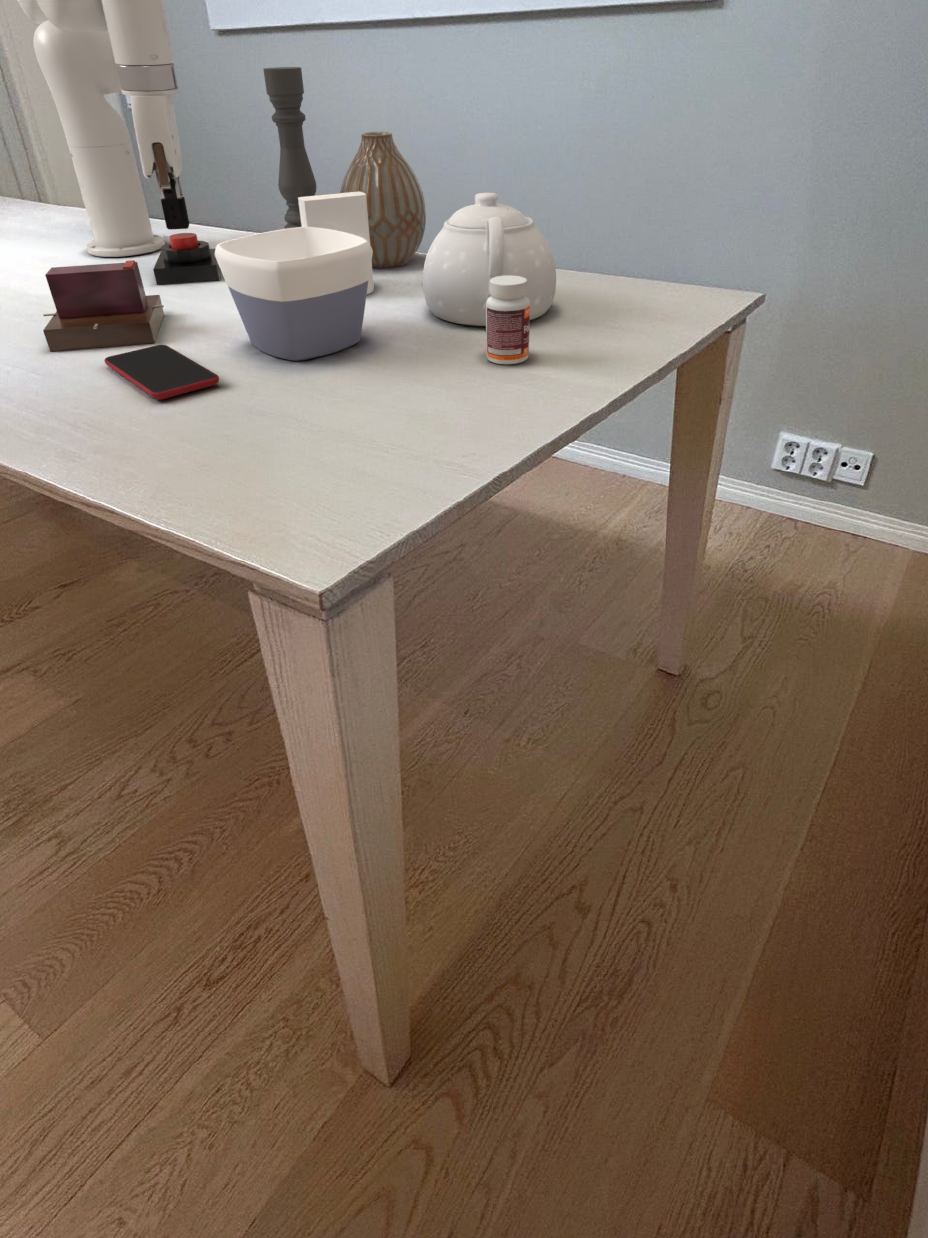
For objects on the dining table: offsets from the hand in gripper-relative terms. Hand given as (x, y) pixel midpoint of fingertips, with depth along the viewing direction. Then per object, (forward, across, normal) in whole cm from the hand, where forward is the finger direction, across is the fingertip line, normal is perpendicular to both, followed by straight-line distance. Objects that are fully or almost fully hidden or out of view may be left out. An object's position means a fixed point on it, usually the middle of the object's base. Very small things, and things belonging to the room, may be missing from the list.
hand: (178, 227), depth 119 cm
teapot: (+5, +32, +41) cm, 52 cm away
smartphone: (+5, +46, +1) cm, 46 cm away
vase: (+6, +3, +31) cm, 31 cm away
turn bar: (+3, +28, -7) cm, 29 cm away
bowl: (+5, +39, +17) cm, 43 cm away
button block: (+6, +1, +1) cm, 6 cm away
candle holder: (+6, -11, +19) cm, 23 cm away
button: (+3, +1, +1) cm, 3 cm away
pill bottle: (+4, +50, +39) cm, 63 cm away
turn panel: (+6, +28, -7) cm, 29 cm away
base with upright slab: (+6, +17, +23) cm, 29 cm away
